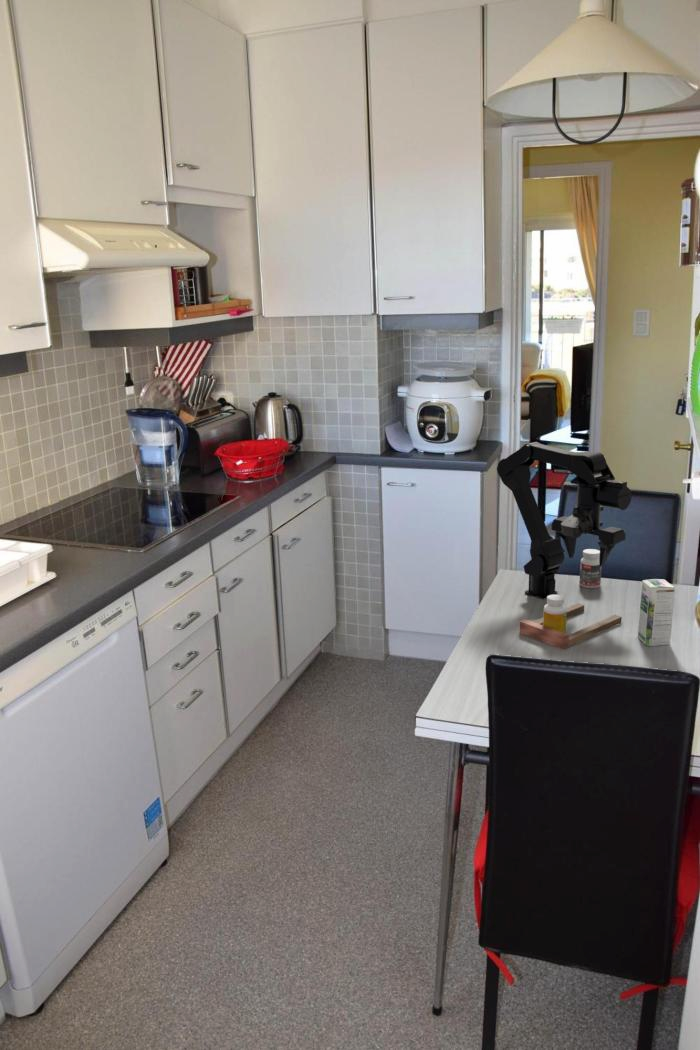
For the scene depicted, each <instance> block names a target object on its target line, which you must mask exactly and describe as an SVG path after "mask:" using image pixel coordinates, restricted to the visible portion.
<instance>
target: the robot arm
mask: <svg viewBox="0 0 700 1050" xmlns="http://www.w3.org/2000/svg"><path fill="white" fill-rule="evenodd" d="M536 461H538V462H542V463H546V464H550V465H552V466H553V465H554V466H557V467H561V468H564V469H566V470H568V471H569V472H570V473H571V474H573V475H575V477H574V478H573V479H571V480H570V481H569V482H570V484H571V485H577V495H576V496H577V497H576V498H577V499H576V506H574V507H573V509H572V514H571V515H569V516H566V515H564V516H560V517H557V518H554V519H553V520H552V522H551V531H555V534H556V535H558V536H559V537H560V538H561V539H562V540H563V542H564V545H565V548H566V549H564V548H563V546H562V543H561V540H560V538H559V537H556V538H553V537H552V536H551V535H550V533H549V532H548V529H547V527H546V523H545V521H544V518H543V516H542V513H541V511H540V508H539V505H538V503H537V501H536V498H535V495H534V492H533V490H532V489H531V485H530V482H531V476H532V473H531V469H530V467H532V466H533V465H534V464H535V463H536ZM496 472H497V474H498V476H499V478H500V480H501V482H502V483H503V484H504V486H505V487H507V488H508V490H510V491H511V492H512V495H513V497H514V500H515V502H516V504H517V508H518V510H519V514H520V515H521V519H522V520H523V522H524V523H523V524H524V525H525V528H526V531H527V533H528V536H529V538H530V549H529V554H530V560H529V561H528V562H527V563H526V564H525V565H523V569H524V574H525V575H528V589H527V590H525V591H524V594H526V595H529V596H533V597H536V598H539V599H540V600H541V599H542V600H544V599H547V596H549V595H558V592H559V591H557V590H556V578H555V575H556V574H555V572H558V571H559V569H560V567H561V566H562V564H563V563H564V561H565V554H564V552H565V551H567V554H568V557H569V558H570V559H573V558H574V556H575V552H576V544H577V539H578V538H580V537H582V536H581V535H582V534H584V535H587V534H588V535H593V536H598V540H599V541H598V542H597V545H598V546H599V551H600V557H599V563H600V566H602V567H603V566H604V565H605V563H606V561H607V560H608V557H609V555H610V554H611V552H612V551H613V549H614V547H616V544H619V543H621V542H623V541H626V534H627V533H626V530H625V529H624V528H621V527H620V528H619V527H615V526H612V525H611V526H609V527H606V528H600V527H603V525H604V524H603V523H604V522H603V521H601V512H602V511H604V507H606V508H611V509H616V510H620V511H625V510H626V509H628V507H629V506H630V504H631V501H632V497H633V496H632V492H631V490H630V488H629V487H628V482H627V481H622V480H621V481H619V480H616V478H615V476H614V474H613V472H612V471H611V469H610V467H609V465H608V463H607V460H606V458H605V455H604V454H603V453H601V452H599V451H572V450H571V451H570V450H567V449H563V448H559V447H555V446H551V445H546V444H542V443H540V442H538V441H534V442H528V443H525V444H523V445H522V446H521V447H520V448H519V449H518V450H516V451H515V452H513V453H511V454H509V455H508V456H507V457H505V458H502V459H500V460H499V462H498V463H497V466H496Z"/></svg>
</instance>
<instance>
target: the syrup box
mask: <svg viewBox="0 0 700 1050" xmlns="http://www.w3.org/2000/svg"><path fill="white" fill-rule="evenodd" d="M675 590H676V587H675V586H673V585H672V584H671V583H670V582H668V581H667V580H666V579H661V578H660V579H659V578H652V579H643V580H642V582H641V592H640V593H641V594H640V605H639V606H640V607H639V616H638V617H639V618H638V626H637V627H638V629H637V630H638V631H637V638H638V639H640V640H641V642H642V643H644V645H645V646H647V647H655V646H656V647H657V646H668V645H671V640H672V639H671V638H672V627H673V616H674V606H675V605H674V604H675V594H676V593H675V592H676V591H675Z"/></svg>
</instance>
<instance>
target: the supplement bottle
mask: <svg viewBox="0 0 700 1050" xmlns="http://www.w3.org/2000/svg"><path fill="white" fill-rule="evenodd" d="M564 604H565V597H564V596H563V595H560V594H555V595H549V596H547V598H546V604H544V606H543V613H542V615H543V616H542V618H543V626H545V627H548V628H551V629H554V630H557V631H560V632H562V633H565V634H567V618H566V616H567V606H566V605H564Z"/></svg>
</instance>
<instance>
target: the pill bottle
mask: <svg viewBox="0 0 700 1050" xmlns="http://www.w3.org/2000/svg"><path fill="white" fill-rule="evenodd" d="M582 556H583V557H582V558H581V559H580V563H579V566H580V567H579V579H578V580H579V581H578V583H579V586H580V587H583V588H587V589H597V588H599V587H600V586H601V584H602V581H601V580H602V567H603V566H600V563H599V558H600V549H599V550H598V549H595V548H586V549H584V550H582Z"/></svg>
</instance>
